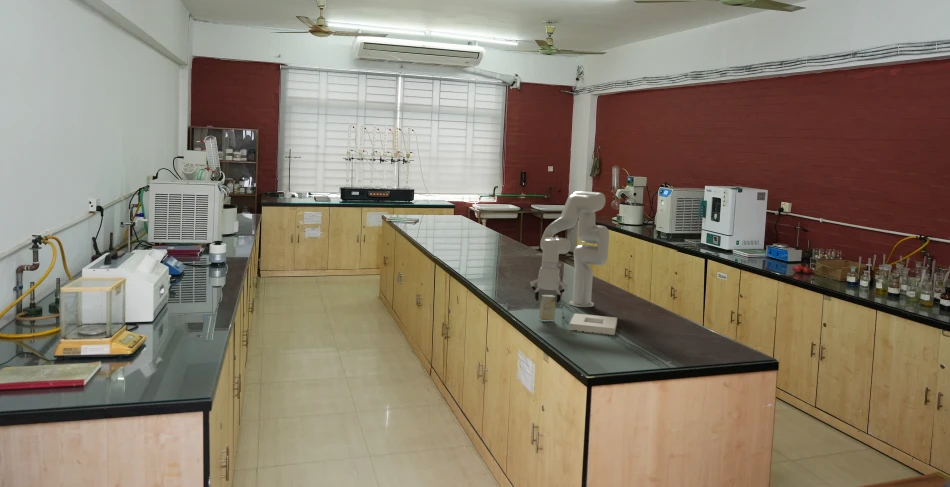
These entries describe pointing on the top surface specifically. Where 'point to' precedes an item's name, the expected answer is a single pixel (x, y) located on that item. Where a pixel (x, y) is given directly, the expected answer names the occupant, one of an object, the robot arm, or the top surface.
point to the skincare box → (547, 307)
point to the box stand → (593, 324)
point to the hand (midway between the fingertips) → (547, 301)
